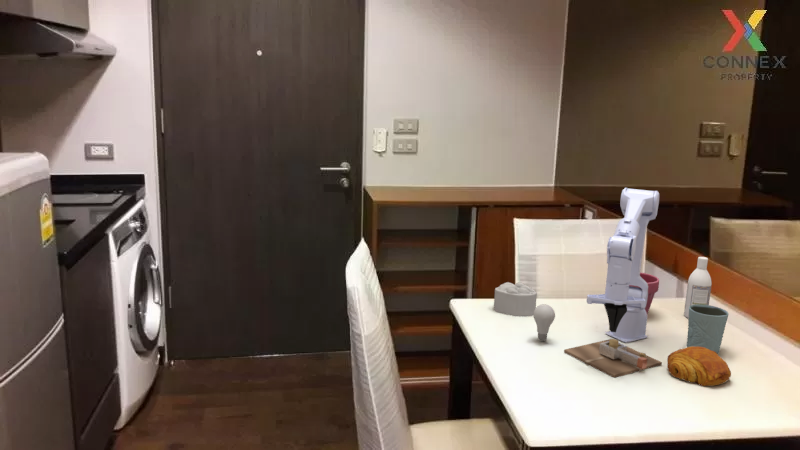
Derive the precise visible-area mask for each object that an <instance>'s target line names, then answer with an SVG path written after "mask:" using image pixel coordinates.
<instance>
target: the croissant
mask: <svg viewBox="0 0 800 450" xmlns="http://www.w3.org/2000/svg"><path fill="white" fill-rule="evenodd" d="M666 362H667V364H666V367H667V371H668V373H670V375H671V376H673V377H674V378H676V379H679V380H682V381H686V382H689V383H692V384H696V385H698V386H701V387H708V386H709V387H712V386H713V387H714V386H720V385H723V384H725V383H726V382H727V381H729V380H730V378H731V376H732V372H731V370H730V367H729V364H728V362H726V360H724V359H723V358H722V357H721V356H719V354H717V353H716V352H715V351H711V350H709V349H707V348H704V347H699V346H697V347H695V346H692V347H687V346H686V347H684V348H679V349H678V350H675V351H672V352H671V353H670V354H669V355H668V356H667V359H666Z"/></svg>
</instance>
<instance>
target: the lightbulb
mask: <svg viewBox="0 0 800 450" xmlns="http://www.w3.org/2000/svg"><path fill="white" fill-rule="evenodd" d="M532 317H533V319H534V322H535V324H536V331H537V339H538V340H539V341H540V342H544V341H546V340H547V339H548V334H549V330H550V327H551V325H552V324H553V323H554V321H555V319H556V312H555V310H554V308H553V306H550V305H549V304H547V303H546V304H545V303H544V304H543V303H542V304H539V305H536V308H535V310H534V313H533V316H532Z"/></svg>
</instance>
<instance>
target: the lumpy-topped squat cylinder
mask: <svg viewBox="0 0 800 450" xmlns="http://www.w3.org/2000/svg"><path fill="white" fill-rule="evenodd" d="M537 296H538V294H537V291H536V290H535V289H533V288H532V287H530V286H528V285H526V284H525V283H523V282H515V284H514V283H512V282H509V281H507V282H504V283H502V284H499V286H498V287H495V289H494V298H493V301H494V302H493V311H494V312H496V313H498V314H499V313H500V314H503V315H507V316H512V317H533V313H534V310H535V308H536V307H537Z"/></svg>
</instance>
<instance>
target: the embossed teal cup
mask: <svg viewBox="0 0 800 450" xmlns="http://www.w3.org/2000/svg"><path fill="white" fill-rule="evenodd" d="M729 315H730V314H729V312H728V311H727V310H726V309H724V308H721V307H718V306H714V305H710V304H709V305H701V304H696V305H691V306H689V318H687V319H688V321H687V323H688V325H687V327H688V328H687V337H686V338H687V339H686V348H687V347H692V346H695V347H697V346H699V347H704V348H707V349H709V350H711V351H715V352H716V353H717V354H718V355H719V354H720V352H721V351H720V350H721V345H722V342H723V337H724V333H725V329H726V325H727V322H728V317H729Z"/></svg>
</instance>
